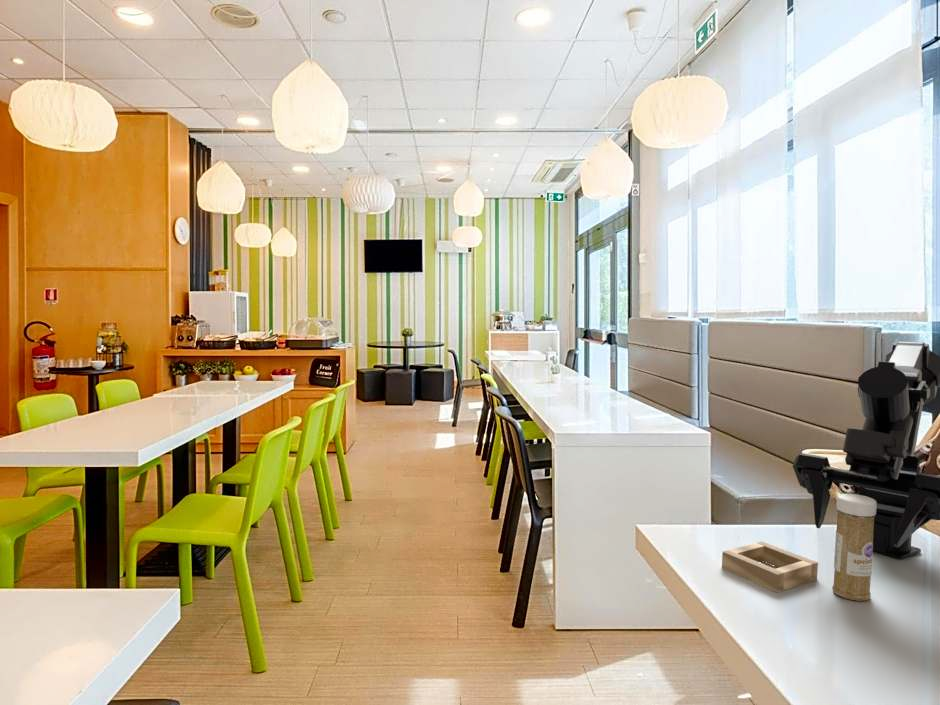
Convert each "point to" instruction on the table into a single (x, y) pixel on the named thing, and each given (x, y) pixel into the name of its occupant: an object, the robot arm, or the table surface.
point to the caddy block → (784, 577)
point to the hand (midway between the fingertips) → (855, 535)
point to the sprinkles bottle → (854, 546)
